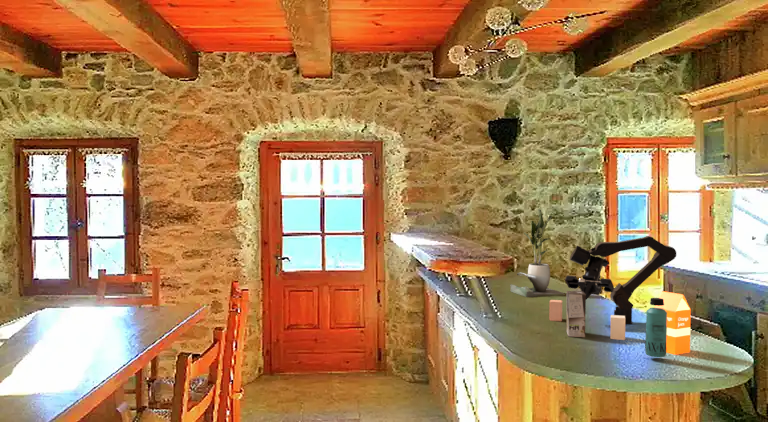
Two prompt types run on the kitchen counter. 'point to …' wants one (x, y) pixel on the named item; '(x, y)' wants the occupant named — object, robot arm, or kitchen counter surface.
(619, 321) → the cream block
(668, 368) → the kitchen counter surface
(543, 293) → the potted plant
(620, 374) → the kitchen counter surface
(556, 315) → the terracotta block
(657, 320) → the beverage bottle
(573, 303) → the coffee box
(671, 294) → the orange juice
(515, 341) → the kitchen counter surface
